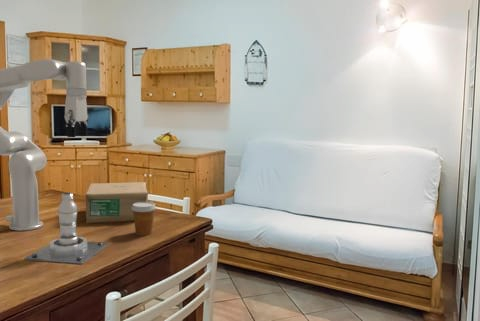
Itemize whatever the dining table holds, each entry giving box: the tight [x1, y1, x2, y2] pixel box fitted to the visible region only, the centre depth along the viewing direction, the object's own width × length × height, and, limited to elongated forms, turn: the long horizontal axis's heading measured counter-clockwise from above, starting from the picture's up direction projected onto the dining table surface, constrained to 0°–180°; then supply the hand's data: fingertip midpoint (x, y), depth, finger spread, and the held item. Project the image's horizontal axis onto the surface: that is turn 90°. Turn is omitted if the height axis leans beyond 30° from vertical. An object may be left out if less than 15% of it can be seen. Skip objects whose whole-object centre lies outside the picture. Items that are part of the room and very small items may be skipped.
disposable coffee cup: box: [132, 201, 157, 236], centre depth 171 cm, size 10×10×12 cm
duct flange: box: [24, 236, 109, 265], centre depth 147 cm, size 20×20×4 cm
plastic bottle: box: [57, 192, 79, 246], centre depth 146 cm, size 6×7×20 cm
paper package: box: [85, 181, 149, 224], centre depth 197 cm, size 27×26×14 cm
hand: (77, 136), depth 171 cm, fingers open, 9 cm apart
